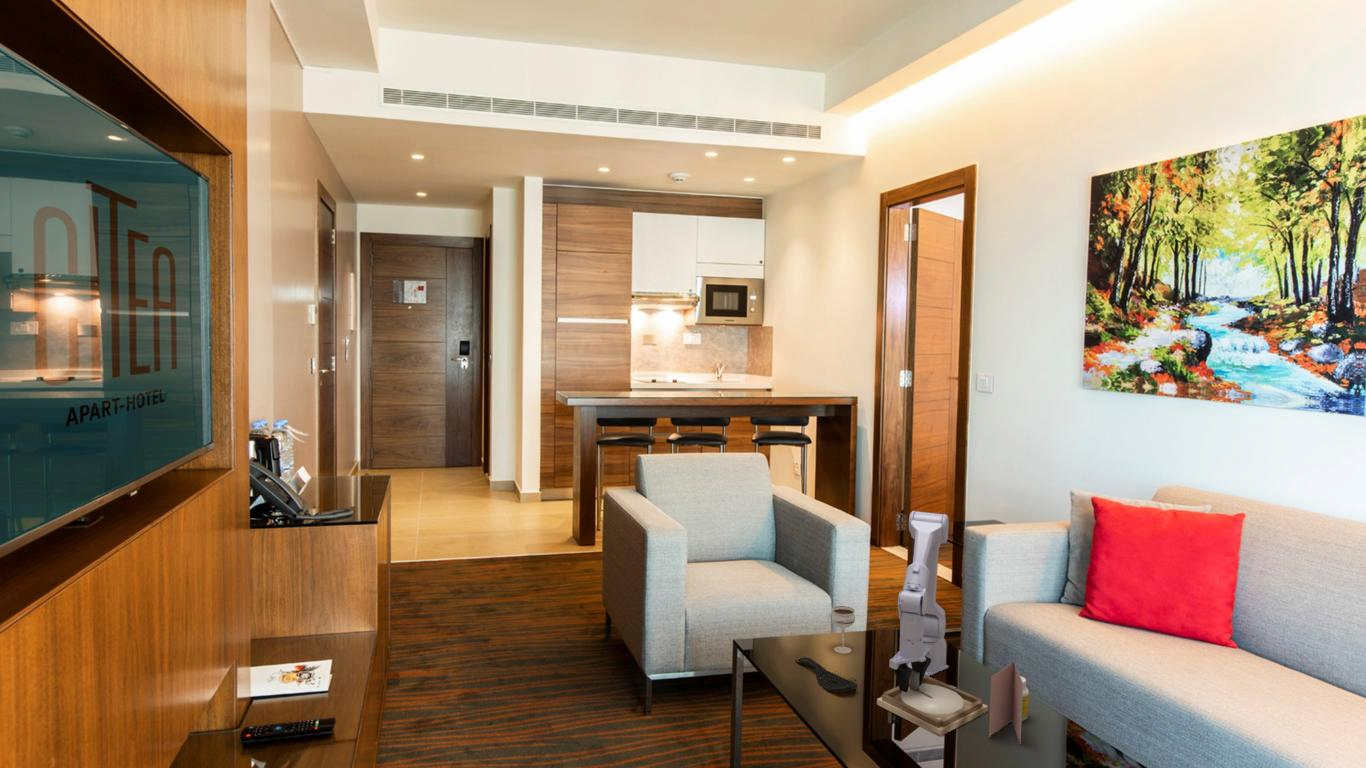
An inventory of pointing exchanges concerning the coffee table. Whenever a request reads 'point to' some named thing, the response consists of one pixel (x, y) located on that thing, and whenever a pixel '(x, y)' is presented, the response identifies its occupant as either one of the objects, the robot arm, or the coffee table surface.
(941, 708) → the dial
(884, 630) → the coffee table surface
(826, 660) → the coffee table surface
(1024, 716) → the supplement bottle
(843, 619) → the wineglass
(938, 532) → the robot arm
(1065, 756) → the coffee table surface
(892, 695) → the dial housing
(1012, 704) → the greeting card
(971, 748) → the coffee table surface
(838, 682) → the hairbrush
